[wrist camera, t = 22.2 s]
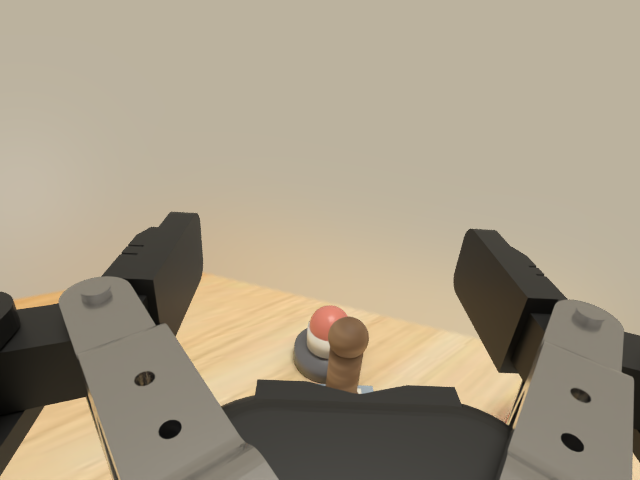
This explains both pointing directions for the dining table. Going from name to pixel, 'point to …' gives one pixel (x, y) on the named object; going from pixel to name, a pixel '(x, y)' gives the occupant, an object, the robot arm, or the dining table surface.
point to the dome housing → (309, 360)
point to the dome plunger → (322, 329)
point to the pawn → (346, 353)
